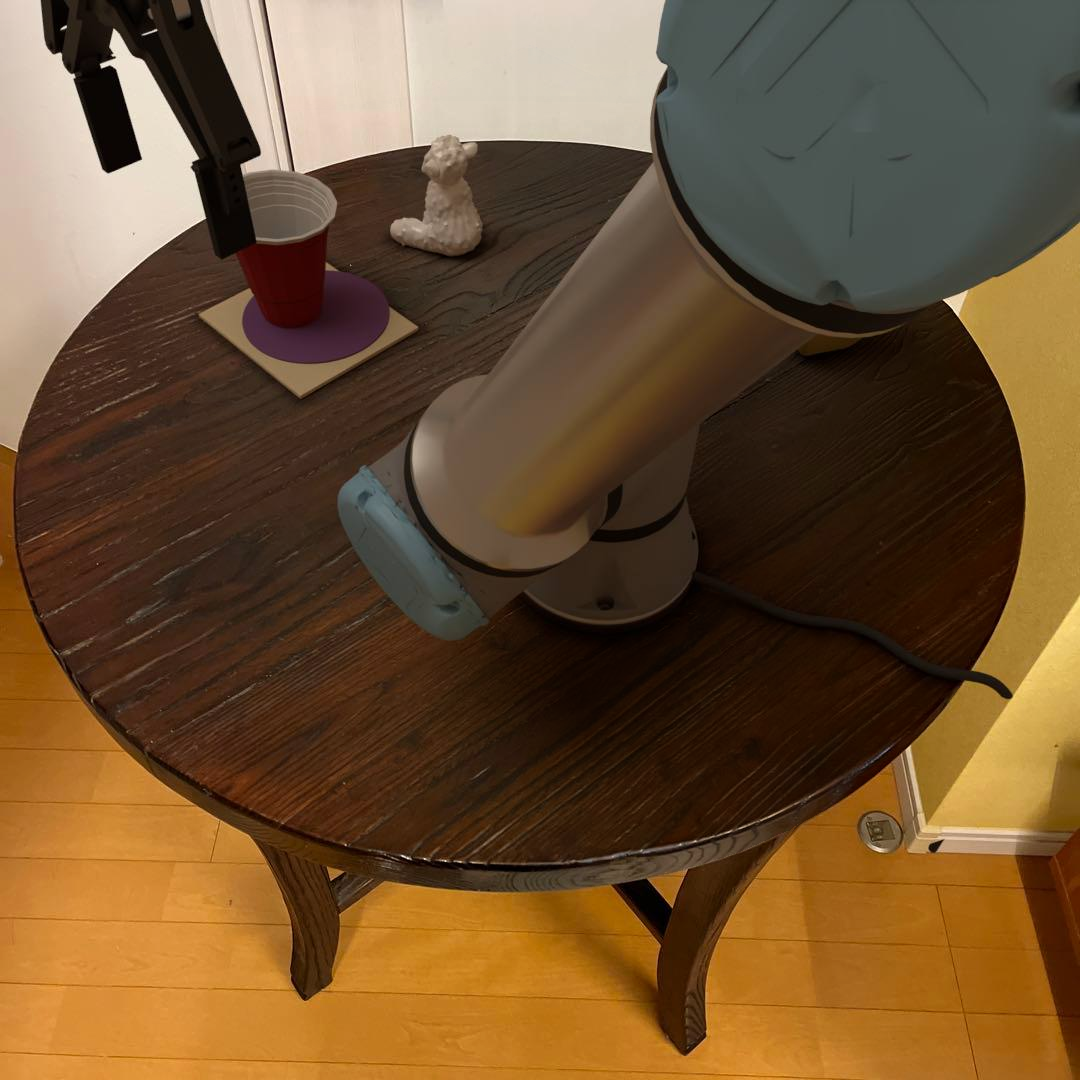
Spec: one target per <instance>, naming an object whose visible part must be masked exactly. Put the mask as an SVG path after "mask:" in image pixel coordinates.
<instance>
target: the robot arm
mask: <svg viewBox="0 0 1080 1080" xmlns="http://www.w3.org/2000/svg"><path fill="white" fill-rule="evenodd" d="M40 8H41V9H40V10H41V18H42V20H41V21H42V29H43V30H42V31H43V40H44V43H45V46H46V48H47V50H49V52H50V53H51V54H52V55H57V54H61V61H62V64H63V67H64V69H65V70H66V71H67V72H68V73H69V74H70V75H74V78H72V80H73V83H74V86H75V89H76V92H77V95H78V98H79V101H80V105H81V108H82V111H83V114H84V117H85V120H86V123H87V126H88V130H89V132H90V135H91V139H92V142H93V146H94V148H95V151H96V155H97V157H98V161H99V163H100V167H101V170H102V171H103V172H105V173H106V174H107V175H109V174H111V173H113V172H116V171H119V170H121V169H123V168H126V167H128V166H130V165H133V164H135V163H138V162H140V161H142V160H143V157H142V154H141V150H140V147H139V144H138V143H139V142H138V139H137V136H136V132H135V129H134V126H133V122H132V119H131V116H130V115H131V114H130V112H129V108H128V105H127V101H126V98H125V95H124V92H123V88H122V84H121V81H120V77H119V73H118V70H117V68H115V67H114V66H112V65H111V64H109V65H107V66H104V67H102V64H104V63H107V62H110V61H112V60H116V58H117V56H116V55H114V54H115V53H114V51H113V50H112V49H111V47H110V46H111V42H112V37H113V33H114V30H115V31H116V33H118V34H119V36H120V38H121V39H122V41H123V43H124V45H125V47H126V48H127V50H128V52H129V54H130V55H131V56H133V57H134V58H136V59H139V60H142V61H143V62H144V64H145V65H146V67H147V69H148V71H149V72H150V74H151V76H152V78H153V79H154V82H155V83H156V85H157V87H158V88H159V90H160V92H161V94H162V96H163V97H164V99H165V100H166V102H167V104H168V106H169V108H170V110H171V111H172V113H173V115H174V117H175V119H176V121H177V122H178V124H179V125H180V127H181V129H182V130H183V133H184V134H185V136H186V138H187V140H188V142H189V144H190V145H191V147H192V149H193V151H194V152H195V154H196V156H197V158H198V159H196V160H193V161H191V166H190V169H191V170H192V172H193V173H194V176H195V180H196V185H197V189H198V193H199V196H200V200H201V204H202V208H203V213H204V216H205V220H206V224H207V228H208V233H209V237H210V240H211V245H212V250H213V253H214V256H216V257H217V258H218V259H220V260H221V261H222V260H224V259H226V258H228V257H230V256H233V255H234V254H235V255H236V253H237V252H239V251H241V250H243V249H245V248H247V247H249V246H251V245H253V244H255V243H257V241H256V236H255V231H254V227H253V222H252V217H251V213H250V208H249V203H248V198H247V193H246V188H245V184H244V179H243V175H244V173H243V171H242V165H243V164H245V163H247V162H250V161H253V160H254V159H256V158H259V157H261V155H262V149H261V145H260V143H259V141H258V139H257V136H256V134H255V132H254V129H253V127H252V124H251V122H250V120H249V117H248V115H247V113H246V110H245V108H244V106H243V103H242V101H241V99H240V96H239V94H238V91H237V90H236V89H237V88H236V87H235V85H234V82H233V79H232V77H231V74H230V72H229V71H228V68H227V66H226V64H225V62H224V59H223V55H222V54H221V51H220V49H219V47H218V44H217V42H216V40H215V38H214V35H213V33H212V30H211V28H210V26H209V23H208V21H207V18H206V15H205V14H206V13H205V10H204V7H203V3H202V0H40ZM64 27H65V28H64ZM655 54H656V57H657V60H659V62H660V63H661V64H663V65H666V69H665V70H664V72H663V74H662V76H661V77H660V79H659V82H658V83H657V86H656V89H655V92H654V95H653V98H652V103H651V104H652V105H651V110H650V116H649V141H650V148H651V155H652V159H653V163H652V162H651V163H650V166H649V167H648V168H647V169H646V171H645V172H644V173H643V174H642V176H641V177H640V178H639V180H637V182H636V183H635V185H634V186H633V188H632V189H630V191H629V193H628V194H627V195H626V196H625V198H624V199H623V201H622V202H621V203H620V204H619V205H618V207H617V208H616V209H615V210H614V212H613V213H612V214H611V216H610V217H609V218H608V219H607V221H606V222H605V224H604V225H603V226H602V228H601V229H600V230H599V231H598V232H597V234H596V235H595V236H594V238H593V239H592V240H591V242H589V244H588V245H587V247H586V248H585V249H584V250H583V252H582V253H581V254H580V256H579V257H577V259H576V261H575V262H574V264H573V265H572V266H571V267H570V269H569V270H567V272H566V273H565V275H564V276H563V277H562V279H561V280H560V281H559V283H558V284H557V286H556V287H555V288H554V289H553V291H552V292H551V293H550V294H549V295H548V297H547V298H546V299H545V301H544V302H543V303H542V305H541V306H540V307H539V309H537V311H536V312H535V314H534V315H533V316H532V318H530V320H529V321H528V323H527V324H526V325H525V326H524V328H523V329H522V330H521V332H520V333H519V334H518V336H517V337H516V338H515V339H514V341H513V342H512V343H511V344H510V346H509V347H508V348H507V350H506V351H505V352H504V353H503V354H502V356H501V358H500V359H499V360H497V363H496V364H495V365H494V366H493V368H492V369H491V370H490V371H489V373H488V374H480V375H475V376H471V377H467V378H464V379H463V380H460V381H458V382H455V383H453V384H452V385H450V386H449V387H448V388H446V389H445V390H443V392H442V393H440V394H439V395H438V396H437V397H436V398H434V400H432V402H431V403H430V404H429V406H428V407H427V408H426V409H425V410H424V412H423V413H422V414H421V416H420V417H419V419H418V420H417V421H416V423H415V424H414V426H413V427H412V429H411V430H410V431H409V433H408V434H407V435H406V437H405V438H404V439H403V440H402V441H401V442H400V443H399V444H398V445H396V446H395V447H394V448H392V449H391V450H390V451H388V452H387V453H386V454H385V455H383V456H382V457H380V458H379V459H377V460H376V461H374V462H373V463H371V464H370V465H368V466H367V465H366V464H363V465H362V466H360V467H359V469H358V472H357V473H356V474H354V476H352V477H350V479H349V480H348V481H346V482H345V483H344V484H343V485H342V487H341V488H340V490H339V492H338V495H337V511H338V516H339V519H340V523H341V525H342V527H343V529H344V531H345V534H346V536H347V538H348V539H349V542H350V544H351V546H352V548H353V549H354V551H355V552H356V554H357V556H358V558H359V559H360V560H361V562H362V563H363V565H364V567H365V568H366V570H367V571H368V572H369V573H370V575H371V576H372V578H373V579H374V580H375V582H376V583H377V584H378V585H379V587H380V588H381V590H383V592H384V593H385V594H386V595H387V597H388V598H389V599H390V600H391V601H392V603H394V605H396V607H398V609H400V611H401V612H403V613H404V615H406V616H407V617H408V618H409V619H410V620H411V621H412V622H413V623H415V624H416V625H417V626H418V627H419V628H421V629H422V630H423V631H425V632H427V633H428V634H430V635H431V636H433V637H435V638H438V639H440V640H443V641H448V642H450V641H452V642H453V641H458V640H461V639H464V638H465V637H467V636H468V635H470V634H471V633H472V632H473V631H475V630H477V629H478V628H479V627H486V626H487V625H488V624H489V623H490V619H491V617H493V616H494V615H496V613H498V612H499V611H500V610H501V609H503V608H504V607H505V606H507V604H509V603H510V602H511V601H513V600H514V598H516V597H518V596H519V598H520V599H521V600H522V601H523V602H524V603H525V604H526V605H527V606H528V607H529V608H530V609H532V610H533V611H534V612H536V613H537V614H538V615H540V616H541V617H544V618H545V619H547V620H548V621H550V622H553V623H555V624H557V625H560V626H562V627H565V628H567V629H570V630H571V629H572V630H575V631H579V632H585V633H592V634H617V633H624V632H630V631H635V630H638V629H641V628H644V627H647V626H649V625H652V624H653V623H655V622H657V621H660V620H661V619H663V618H664V617H666V616H667V615H668V614H670V613H672V612H673V611H674V609H675V608H677V606H678V605H680V603H681V602H682V601H683V600H684V598H685V597H686V595H687V594H688V592H689V591H690V588H691V586H692V583H693V582H695V583H697V584H698V585H699V584H700V585H702V586H704V587H707V588H709V589H712V590H713V591H716V592H719V593H722V594H724V595H727V596H729V597H731V598H734V599H736V600H738V601H741V602H743V603H745V604H747V605H749V606H751V607H754V608H756V609H758V610H760V611H762V612H764V613H766V614H769V615H771V616H773V617H776V618H779V619H781V620H784V621H788V622H790V623H793V624H799V625H803V626H810V627H819V628H831V629H838V630H843V631H848V632H852V633H854V634H858V635H861V636H863V637H865V638H868V639H870V640H871V641H873V642H875V643H877V644H879V645H880V646H881V647H883V648H884V649H886V650H887V651H889V652H890V653H891V654H893V655H894V656H896V657H897V658H899V659H900V660H901V661H903V662H904V663H906V664H908V665H910V666H911V667H913V668H915V669H917V670H919V671H921V672H923V673H927V674H928V675H932V676H936V677H939V678H943V679H944V678H945V679H950V680H955V681H957V680H958V681H965V682H970V683H971V682H972V683H976V684H980V685H984V686H986V687H989V688H991V689H992V690H994V691H995V692H996V693H997V694H998V695H999V696H1000V697H1001V698H1003V699H1005V700H1011V699H1013V697H1014V696H1013V695H1014V694H1013V692H1012V691H1011V690H1010V689H1009V688H1008V686H1006V684H1005V683H1004V682H1002V681H1001V680H1000V679H998V678H997V677H995V676H993V675H991V674H988V673H985V672H981V671H977V670H970V669H963V668H957V667H956V668H955V667H948V666H945V665H939V664H936V663H932V662H930V661H929V660H928V661H927V660H925V659H923V658H921V657H920V656H917V655H915V654H914V653H912V652H911V651H909V650H908V649H906V648H904V647H903V646H902V645H900V644H899V643H898V642H896V641H894V639H892V638H890V637H889V636H887V635H886V634H884V633H883V632H881V631H879V630H877V629H875V628H873V627H871V626H869V625H867V624H864V623H862V622H859V621H856V620H855V621H854V620H851V619H846V618H840V617H834V616H824V615H823V616H821V615H814V614H813V615H812V614H806V613H800V612H797V611H794V610H789V609H787V608H784V607H781V606H779V605H776V604H774V603H772V602H770V601H768V600H765V599H763V598H762V597H759V596H757V595H754V594H752V593H750V592H748V591H746V590H743V589H741V588H739V587H736V586H734V585H731V584H729V583H726V582H725V581H721V580H720V579H717V578H715V577H712V576H710V575H707V574H705V573H702V572H700V571H697V570H696V569H697V563H698V558H699V541H698V536H697V530H696V527H695V525H694V521H693V519H692V516H691V514H690V513H689V511H690V507H689V502H688V498H687V490H688V485H689V481H690V476H691V471H692V466H693V462H694V456H695V452H696V445H697V441H698V437H699V432H700V428H701V427H700V426H701V424H702V423H703V422H705V421H706V420H707V419H708V418H710V417H711V416H712V415H713V414H715V413H716V412H717V411H719V410H720V409H721V408H723V407H724V406H725V405H727V404H728V403H729V402H731V401H732V400H733V399H735V397H737V396H738V395H739V394H741V393H742V392H743V391H745V390H746V389H747V388H749V387H750V386H751V385H753V384H754V383H755V382H756V381H758V380H759V379H760V378H762V377H763V376H765V375H766V374H768V372H770V371H771V370H772V369H774V368H775V367H776V366H777V365H780V363H781V362H783V361H784V360H786V359H787V358H788V357H789V356H790V355H793V353H795V352H796V351H798V350H797V349H798V348H800V347H801V346H802V345H803V344H805V343H806V342H807V341H809V340H810V339H811V338H813V337H814V336H815V335H817V334H822V335H826V336H831V337H843V338H860V337H863V338H870V337H874V336H879V335H883V334H887V333H889V332H891V331H893V330H896V329H898V328H900V327H902V326H904V325H906V324H907V323H909V322H910V321H912V320H913V319H915V318H916V317H917V316H919V315H920V314H922V313H924V312H925V311H926V310H927V309H929V308H930V307H932V306H933V305H935V304H936V303H938V302H940V301H943V300H946V299H949V298H952V297H954V296H957V295H960V294H963V293H964V292H966V291H969V290H971V289H973V288H975V287H977V286H979V285H981V284H983V283H985V282H987V281H988V280H991V279H993V278H999V277H1000V276H1001V277H1002V276H1003V275H1005V274H1007V273H1010V272H1011V271H1013V270H1015V269H1016V268H1018V267H1019V266H1022V265H1023V264H1025V263H1027V262H1028V261H1031V260H1032V259H1034V258H1035V257H1036V256H1038V255H1039V254H1041V253H1043V251H1045V250H1046V249H1047V248H1049V247H1050V246H1051V245H1054V243H1056V242H1057V241H1058V240H1060V239H1061V238H1063V237H1064V236H1065V235H1066V234H1068V233H1069V232H1070V231H1072V230H1073V229H1074V228H1075V227H1076V226H1077V225H1078V224H1080V0H664V3H663V7H662V12H661V17H660V21H659V29H658V37H657V45H656V51H655ZM944 841H945V838H943V839H939V840H936V841H934V842H931V843H929V845H928V847H927V848H928V851H929V852H930V853H932V854H935V853H936V852H938V850H939V849H940V847H941V845H942V844H943V843H944Z"/></svg>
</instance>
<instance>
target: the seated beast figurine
mask: <svg viewBox="0 0 1080 1080" xmlns="http://www.w3.org/2000/svg"><path fill="white" fill-rule="evenodd" d="M430 144H431V145H430V146H431V147H430V149H429V150H428V152H426V154H425V155H424V156H423V163H422V166H421V172H422V173H423V174H424V175H426V176H427V177H428V178H429V179H430V180H429V181H428V182H427V187H426V191H425V194H426V196H425V198H424V201H425V204H424V208H425V210H424V211H423V217H422V221H421V220H420V219H418V218H415V217H402V218H399V219H395V220H394V221H393V222H392V223H391V225H390V230H389V231H390V232H389V233H390V236H391V238H392V239H393V240H394V241H396V242H397V243H399V244H401V246H402V247H404V246H408V247H411V248H415V249H419V250H422V251H426V252H431V253H438V254H440V255H444V256H447V257H458V256H461V255H464V254H466V253H469V252H470V251H474V250H475V248H476V246H478V245H479V244H480V243H481V240H482V238H483V237H482V232H483V231H484V229H483V221H482V220H481V216H480V214H479V213H478V209H477V208H476V206H475V202H474V201H473V199H474V195H473V192H472V189H471V187H470V186H468V185H469V184H468V181H467V180H465V178H464V175H465V173H466V171H467V168H468V166H469V165H468V164H469V163H468V160H469V159H473V158H474V157H476V155H477V153H478V144H477V142H474V141H473V142H472V141H471V142H466V143H465V142H464V143H461V141H460V138H459V137H457V136H456V135H454V136H453V135H452V134H447V135H441V136H438V137H436V139H435V140H432V141H431V143H430Z"/></svg>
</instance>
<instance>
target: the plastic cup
mask: <svg viewBox="0 0 1080 1080" xmlns="http://www.w3.org/2000/svg"><path fill="white" fill-rule="evenodd" d="M243 179H244V184H245V188H246V193H247V198H248V203H249V208H250V213H251V217H252V222H253V227H254V231H255V236H256V241H257V243H255V244H253V245H251V246H249V247H247V248H245V249H243V250H241V251H239V252H237V253H235V257H236V258H237V261H238V263H239V264H240V267H241V270H242V272H243V275H244V277H245V280H246V282H247V284H248V287H249V288H250V289H251V292H252V294H254V296H255V298H256V301H257V303H258V306H259V308H260V310H261V313H262V315H263V316H264V317H265V319H266V320H267V321H268V322H270V323H271V324H272V325H275V326H278V327H282V328H296V327H301V326H305V325H307V324H309V323H311V322H313V321H314V320H316V319H317V317H318V316H319V315H320V314H321V310H322V306H323V301H324V280H325V271H326V262H327V253H328V252H327V251H328V247H327V246H328V234H329V230H330V227H331V224H332V223H333V222H334V220H335V217H336V213H337V207H338V201H337V199H336V197H335V195H334V193H333V191H332V189H331V188H330V187H328V186H327V185H326V184H324V183H323V182H322V181H320V180H319V179H318V178H315V177H312V176H310V175H307V174H304V173H301V172H298V171H292V170H283V169H268V170H267V169H265V170H258V171H250V172H246V173H245V174H244V173H243Z"/></svg>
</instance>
